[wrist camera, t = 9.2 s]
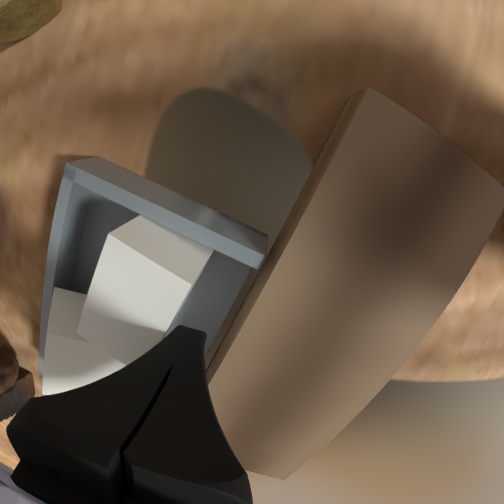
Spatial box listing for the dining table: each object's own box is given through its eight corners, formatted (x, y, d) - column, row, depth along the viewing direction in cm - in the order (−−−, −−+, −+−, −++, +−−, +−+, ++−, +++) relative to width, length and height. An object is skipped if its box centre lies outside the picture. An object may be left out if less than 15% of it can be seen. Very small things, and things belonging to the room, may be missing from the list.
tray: (268, 235, 14) (265, 256, 12) (174, 414, 18) (164, 443, 16) (97, 156, 13) (66, 162, 11) (58, 353, 18) (39, 376, 15)
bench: (473, 181, 12) (510, 193, 9) (285, 443, 19) (284, 479, 16) (349, 96, 12) (369, 85, 9) (184, 408, 18) (173, 445, 15)
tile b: (192, 284, 9) (108, 233, 9) (143, 375, 11) (76, 332, 11) (220, 239, 14) (160, 203, 13) (177, 315, 15) (124, 283, 15)
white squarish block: (46, 333, 11) (54, 286, 13) (42, 393, 12) (45, 349, 14) (149, 352, 13) (141, 306, 15) (126, 406, 14) (120, 363, 17)
